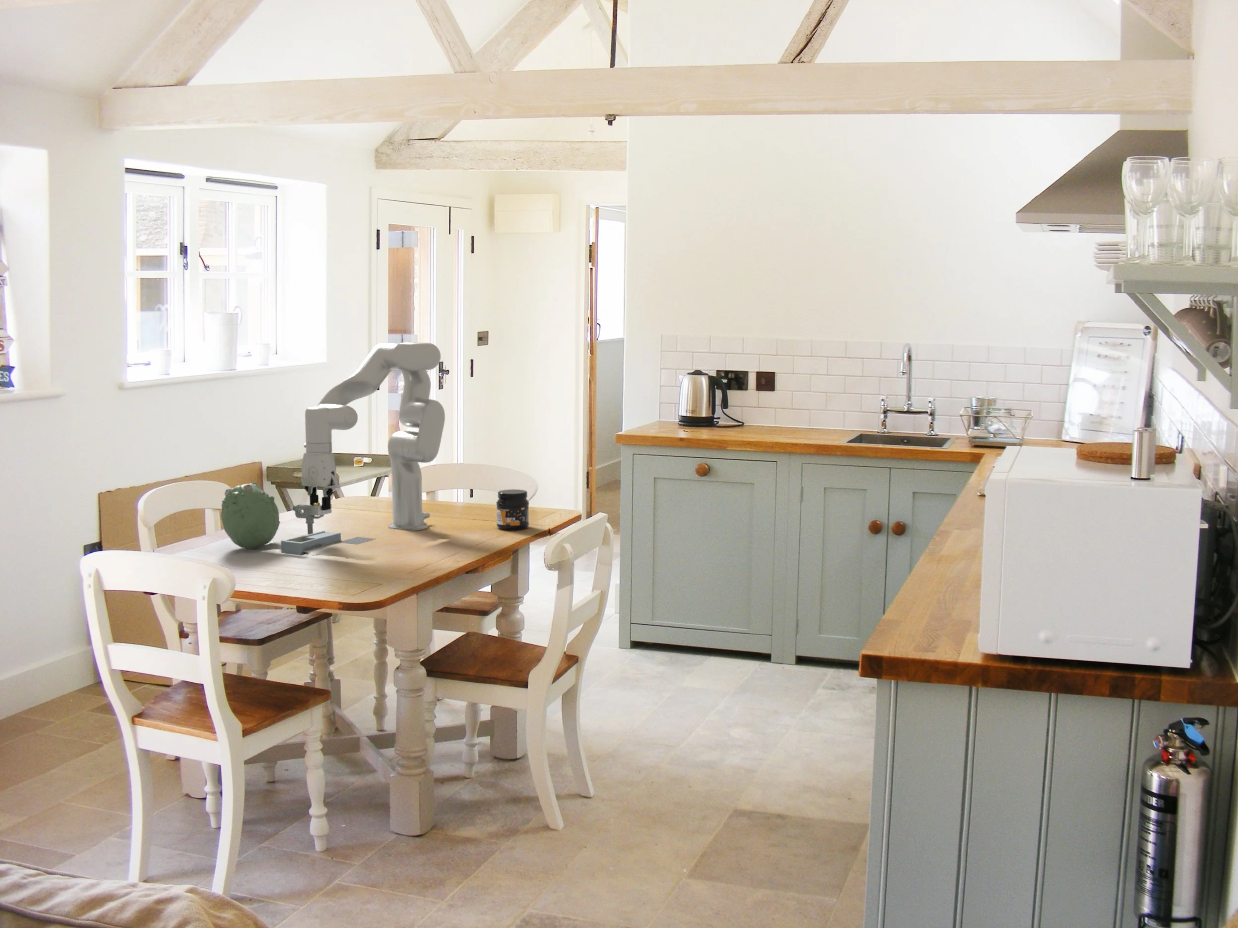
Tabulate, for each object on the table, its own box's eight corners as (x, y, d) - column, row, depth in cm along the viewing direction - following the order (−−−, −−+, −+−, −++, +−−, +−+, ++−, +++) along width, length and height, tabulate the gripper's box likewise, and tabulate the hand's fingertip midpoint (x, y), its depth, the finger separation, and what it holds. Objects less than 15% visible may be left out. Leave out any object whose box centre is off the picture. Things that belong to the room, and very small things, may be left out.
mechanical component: (323, 538, 370) (322, 507, 369) (292, 537, 372) (291, 505, 371) (327, 537, 373) (326, 505, 372) (297, 535, 375) (296, 504, 374)
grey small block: (321, 511, 361) (320, 500, 361) (331, 512, 360) (331, 501, 359) (307, 514, 356) (307, 503, 356) (318, 515, 354) (318, 504, 354)
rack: (322, 541, 365) (322, 530, 365) (342, 544, 362) (341, 532, 362) (281, 552, 350) (280, 540, 349) (301, 555, 346) (301, 543, 346)
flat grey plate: (357, 540, 368) (357, 536, 367) (375, 542, 364) (375, 538, 364) (338, 545, 360) (338, 542, 359) (357, 548, 356) (356, 544, 356)
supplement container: (492, 530, 385) (491, 493, 383) (502, 524, 395) (502, 488, 393) (523, 531, 382) (522, 494, 381) (533, 525, 392) (533, 489, 391)
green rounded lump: (291, 543, 363) (289, 478, 360) (259, 556, 345) (256, 487, 342) (245, 541, 367) (242, 476, 364) (210, 553, 348) (207, 485, 346)
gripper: (288, 447, 356) (290, 508, 358) (332, 451, 349) (334, 513, 351) (305, 445, 363) (307, 505, 365) (349, 448, 355) (350, 509, 358)
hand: (320, 508), depth 358 cm, fingers closed on grey small block, 3 cm apart
